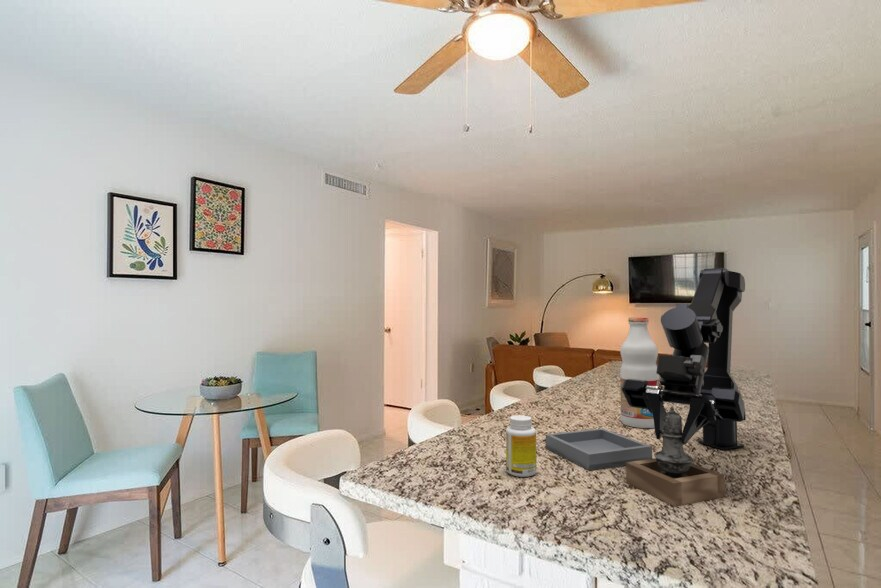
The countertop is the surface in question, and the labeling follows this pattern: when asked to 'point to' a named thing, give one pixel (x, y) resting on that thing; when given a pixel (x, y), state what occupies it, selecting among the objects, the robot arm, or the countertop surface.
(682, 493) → the walnut collar
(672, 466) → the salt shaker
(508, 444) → the supplement bottle
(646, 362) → the fruit juice
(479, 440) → the countertop surface
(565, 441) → the charcoal tray
